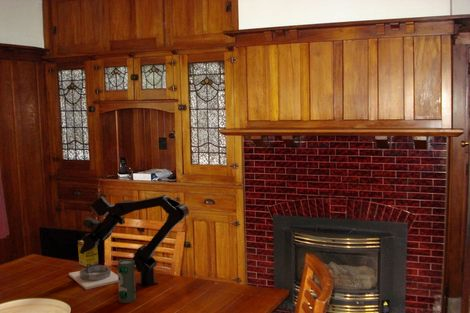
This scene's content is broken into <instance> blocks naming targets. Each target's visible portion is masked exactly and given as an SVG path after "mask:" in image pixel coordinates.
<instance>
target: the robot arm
mask: <svg viewBox="0 0 470 313" xmlns="http://www.w3.org/2000/svg"><path fill="white" fill-rule="evenodd" d="M89 207H90V209H92V211H93V212H95V213H96V215H97V216H98V217H100V218H101V217H103V219H102V220H101V221H99V220H98V219H95V218H93V217H91V216H87V217H86V218H85V219H84V220H83V221H82V226H83V227H84V228H87V229H89V230H90V232H91V233H90V232H89V233H88V232H87V233H86V234H84V235H83V236H82V237H81V240H83V241H84V244H83V246H82V248H81V250H80V253H81V254H82V253H85V252H87V251H89V250H91V249H93V248H95V247H96V246H97V247H98V245H100V244H101V243H104V242H105V241H106V240H108V239H109V238H110V237H111V236H112V232H113V231H114V228H116V227H117V225H118V224H119V225H121V226H122V225H125V224H126V220H125V216H126V215H127V214H130V213H132V212H135V211H140V210H146V209H150V208H151V209H152V208H156V207H159V208H162V209H163V211H164V212H165V213H166V214H167V215H168V216H167V217H166V221H165V223H163V225H162V226H161V227H160V228H159V230H158V231H157V232H156V233H155V234H154V235H153V237H152V238H151V239H150V241H148V243H147V244H145V243H143V244H142V245H141V246H139V247H138V249H137V250H136V252H135V253H133V254H132V256H133V257H132V260H134V261H135V270H136V272H138V273H139V278H140V280H139V281H137V284H139V285H140V286H141V287H143V288H144V287H149V286H154V285H158V281H156V280H155V267H156V266H157V264H158V261H157V259H155V258H154V255H155V252H156V249H157V248H158V247H159V246H160V245H161V244H162V243H163V241H164V240H165V239H166V237H168V235H169V233H170V232H171V231H173V229H174V228H175V226H177V225H178V224H179V223H181V222H182V221H183V220H184V219H186V217H188V216H189V213H190V212H189V211H190V210H189V206H187V205H186V204H183V203H180V202H179V201H177V200H175V199H173V198H171V197H169V196H168V195H166V194H162V195H159V196H155V197H150V198H149V197H148V198H145V199H140V200H139V199H138V200H132V199H130V200H129V199H124V200H123V199H122V200H121V201H119V202H116V203H112V204H111V203H110V202H108V201H107V200H106V199H105V197H104V196H99V198H97V200H95V201H94V202H93V203H91V205H90V206H89Z"/></svg>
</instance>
